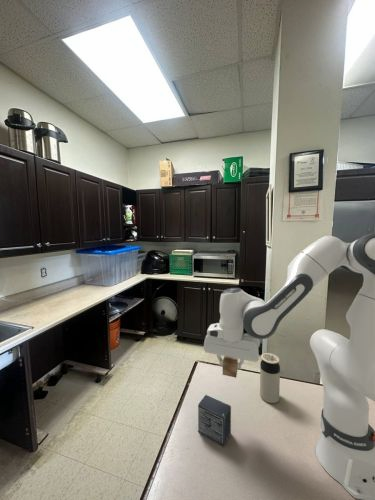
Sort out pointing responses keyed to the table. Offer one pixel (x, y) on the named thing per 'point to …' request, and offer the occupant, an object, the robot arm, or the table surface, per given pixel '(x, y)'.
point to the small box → (214, 420)
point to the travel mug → (269, 378)
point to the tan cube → (230, 366)
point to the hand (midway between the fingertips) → (230, 366)
